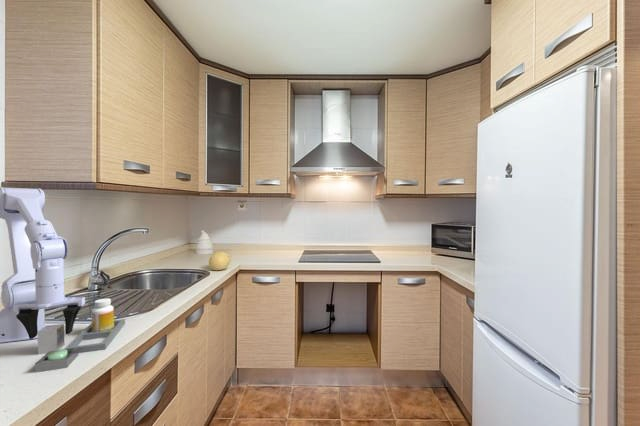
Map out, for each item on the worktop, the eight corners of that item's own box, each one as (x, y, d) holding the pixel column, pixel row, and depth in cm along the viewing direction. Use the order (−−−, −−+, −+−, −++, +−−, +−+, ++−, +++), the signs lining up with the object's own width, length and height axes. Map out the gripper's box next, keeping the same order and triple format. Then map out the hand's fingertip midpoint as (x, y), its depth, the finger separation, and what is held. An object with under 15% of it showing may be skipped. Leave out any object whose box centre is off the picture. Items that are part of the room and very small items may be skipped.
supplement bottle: (118, 327, 93) (117, 297, 93) (106, 335, 87) (105, 303, 87) (100, 328, 93) (100, 297, 92) (87, 335, 87) (87, 303, 87)
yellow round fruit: (233, 268, 181) (233, 250, 181) (220, 272, 170) (220, 253, 169) (218, 266, 185) (218, 249, 184) (204, 270, 173) (204, 252, 173)
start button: (44, 366, 70) (44, 357, 70) (52, 358, 73) (52, 350, 73) (63, 363, 71) (63, 355, 71) (70, 356, 74) (70, 348, 74)
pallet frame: (64, 354, 76) (64, 349, 76) (91, 327, 93) (91, 322, 93) (105, 349, 79) (105, 343, 79) (124, 323, 96) (124, 319, 96)
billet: (38, 354, 76) (37, 331, 76) (46, 347, 80) (45, 325, 80) (57, 352, 78) (56, 329, 77) (64, 345, 81) (64, 323, 81)
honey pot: (192, 253, 235) (192, 231, 234) (203, 251, 247) (203, 229, 246) (205, 254, 231) (205, 231, 230) (216, 252, 243) (216, 230, 242)
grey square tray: (35, 372, 68) (35, 363, 68) (49, 359, 74) (48, 351, 74) (67, 367, 70) (66, 359, 70) (78, 355, 76) (78, 347, 76)
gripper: (4, 291, 72) (6, 345, 72) (76, 285, 77) (77, 337, 77) (22, 283, 79) (23, 334, 79) (87, 279, 84) (88, 326, 84)
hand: (51, 334), depth 79 cm, fingers open, 7 cm apart
